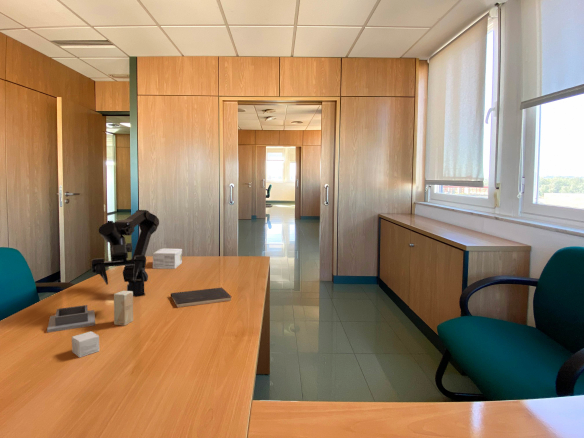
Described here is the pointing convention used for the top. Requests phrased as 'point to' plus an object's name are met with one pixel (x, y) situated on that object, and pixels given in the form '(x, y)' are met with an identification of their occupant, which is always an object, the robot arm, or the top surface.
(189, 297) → the hardcover book
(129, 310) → the box
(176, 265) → the supplement box
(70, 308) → the holder
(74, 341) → the small box
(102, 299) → the top surface
